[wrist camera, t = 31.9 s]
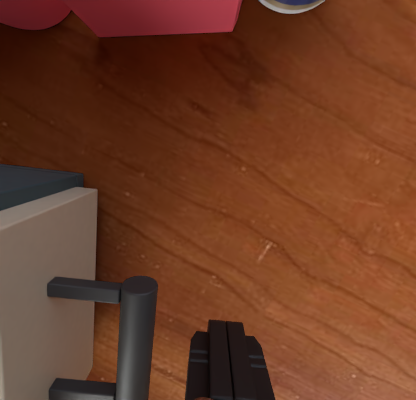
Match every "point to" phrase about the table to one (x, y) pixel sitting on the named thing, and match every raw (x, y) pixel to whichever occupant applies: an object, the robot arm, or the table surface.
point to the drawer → (65, 305)
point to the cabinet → (33, 184)
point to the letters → (125, 15)
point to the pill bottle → (291, 5)
